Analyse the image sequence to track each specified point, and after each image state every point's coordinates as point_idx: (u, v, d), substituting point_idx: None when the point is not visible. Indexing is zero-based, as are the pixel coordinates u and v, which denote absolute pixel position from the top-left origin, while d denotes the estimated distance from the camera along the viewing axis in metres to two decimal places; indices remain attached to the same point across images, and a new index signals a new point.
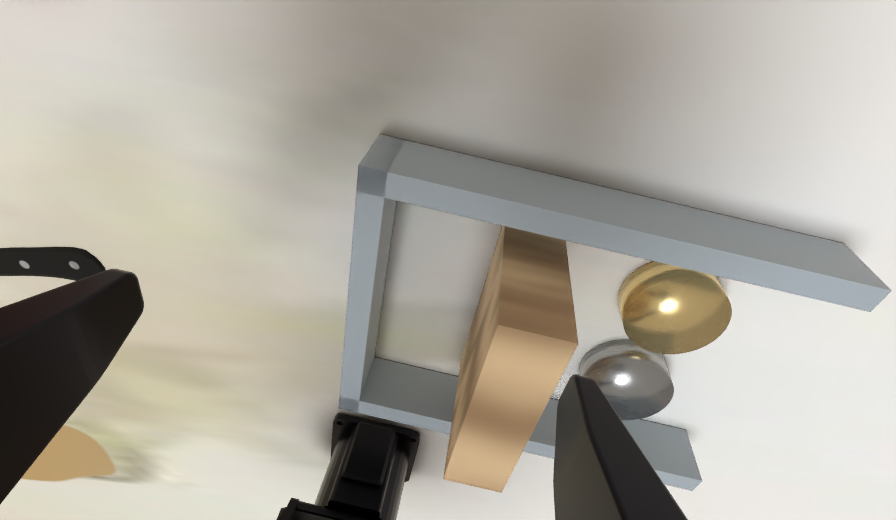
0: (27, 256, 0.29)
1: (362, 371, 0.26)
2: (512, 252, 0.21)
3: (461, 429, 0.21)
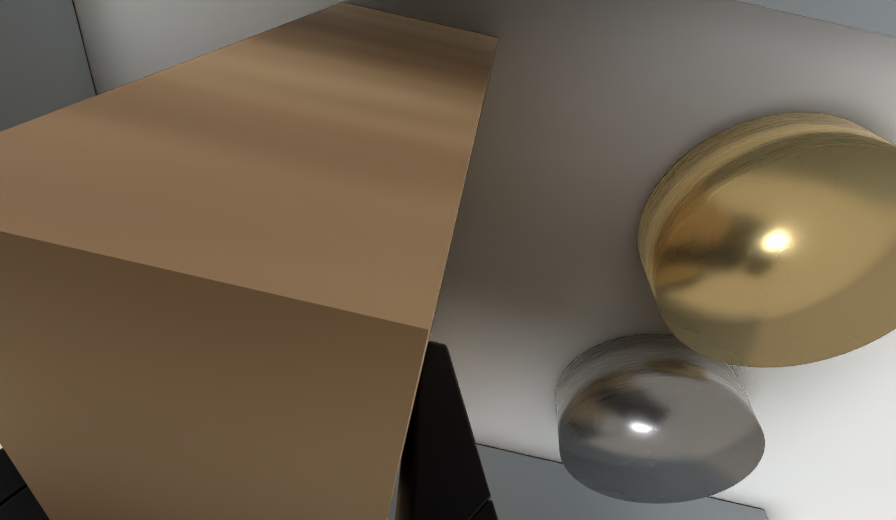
0: None
1: None
2: (300, 37, 0.06)
3: None
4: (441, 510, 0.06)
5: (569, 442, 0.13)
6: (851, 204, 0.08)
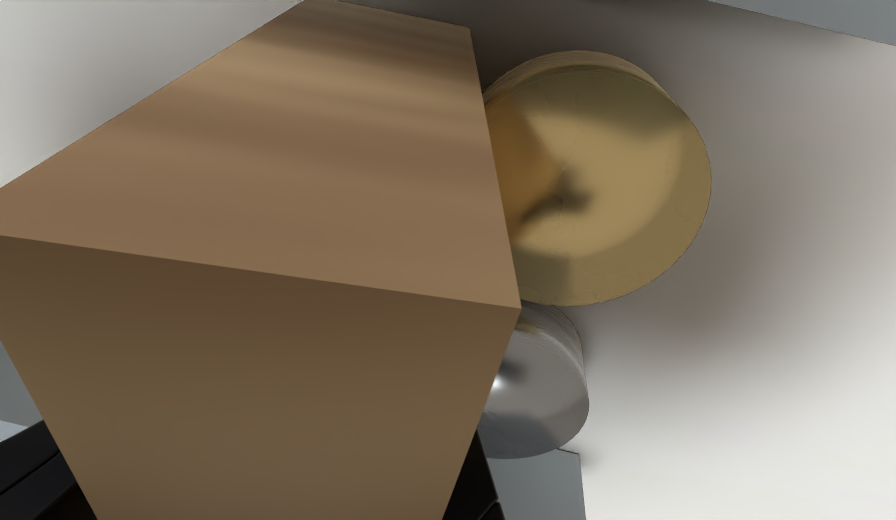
0: None
1: None
2: (290, 36, 0.06)
3: None
4: (449, 512, 0.06)
5: None
6: (599, 133, 0.08)
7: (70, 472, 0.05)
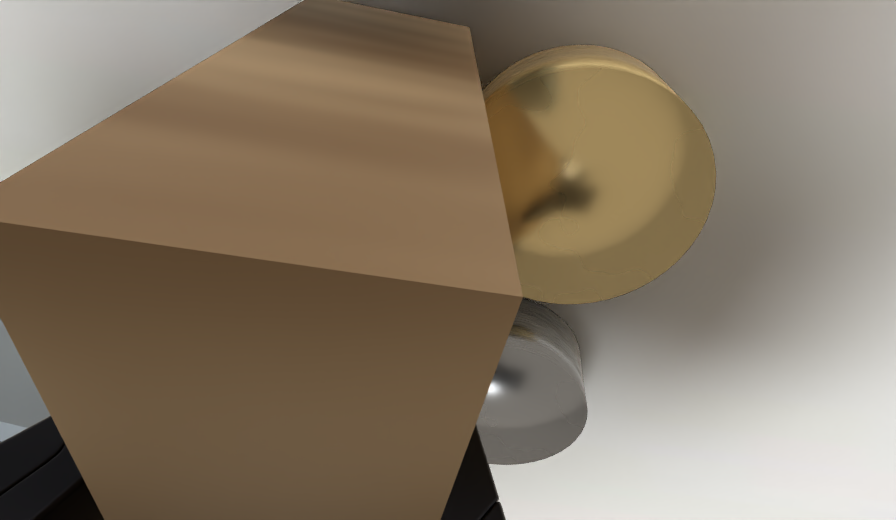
0: None
1: None
2: (292, 33, 0.06)
3: None
4: (449, 512, 0.06)
5: None
6: (602, 128, 0.08)
7: (71, 472, 0.05)
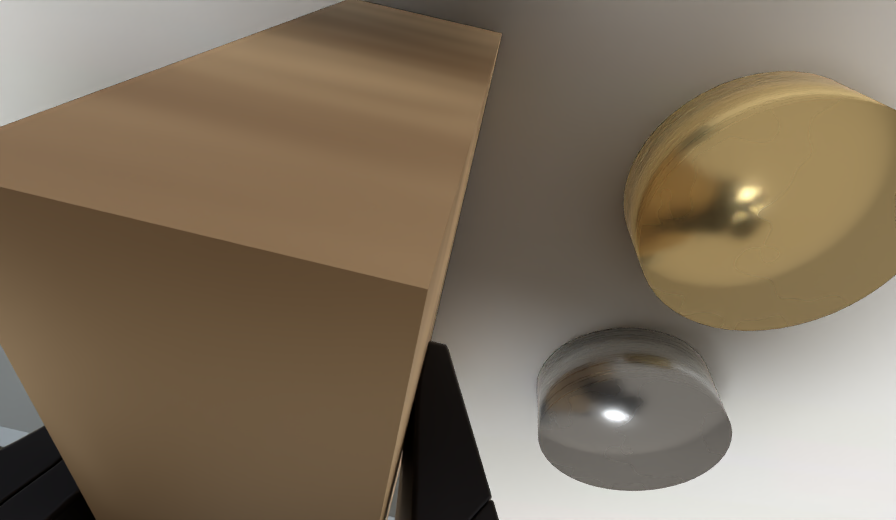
0: None
1: None
2: (311, 31, 0.07)
3: None
4: (442, 510, 0.06)
5: (547, 429, 0.13)
6: (829, 158, 0.08)
7: None
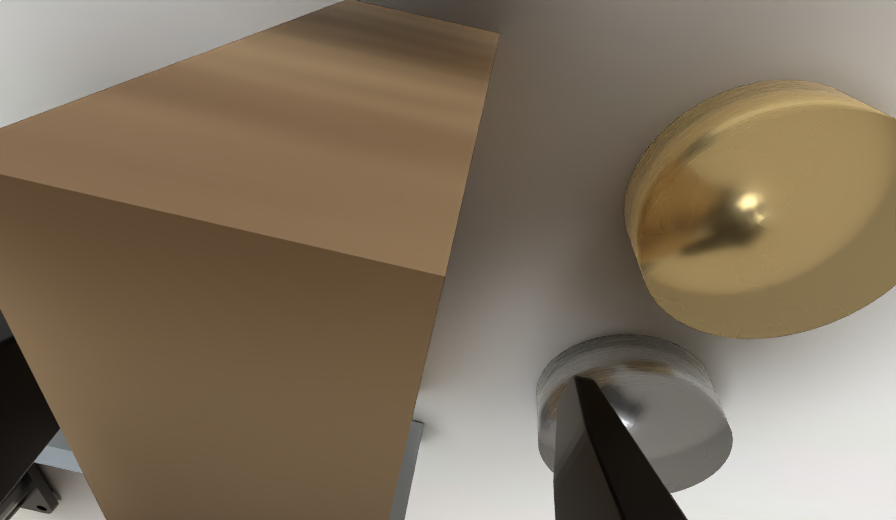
0: None
1: None
2: (313, 30, 0.07)
3: None
4: None
5: (547, 436, 0.13)
6: (831, 168, 0.08)
7: None
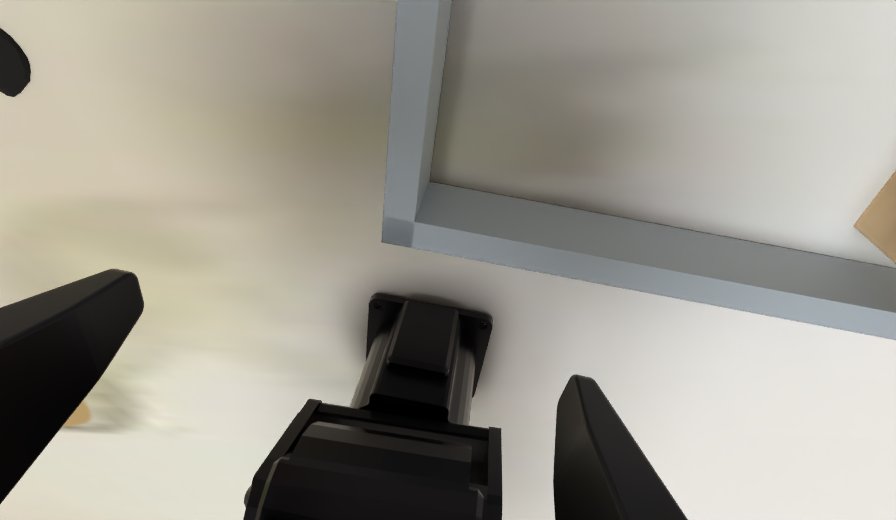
0: None
1: (420, 156, 0.16)
2: None
3: None
4: None
5: None
6: None
7: None
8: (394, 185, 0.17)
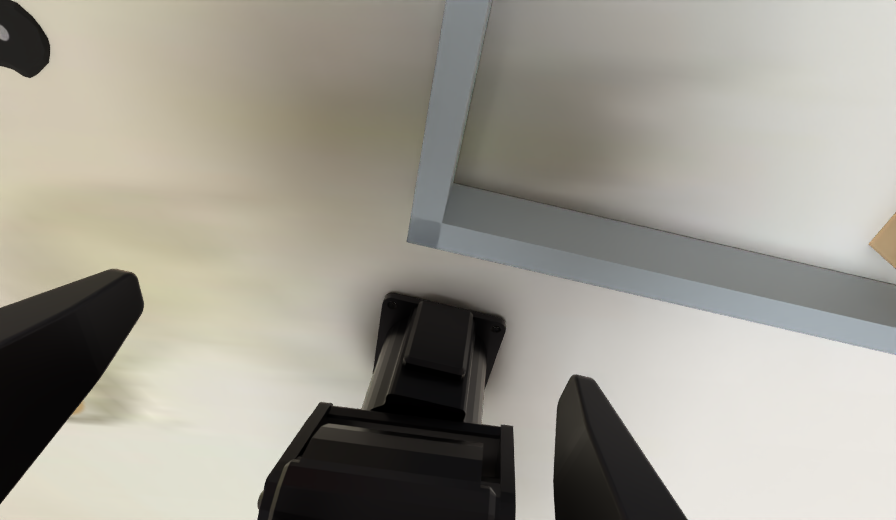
0: None
1: (454, 157, 0.16)
2: None
3: None
4: None
5: None
6: None
7: None
8: (425, 185, 0.17)
